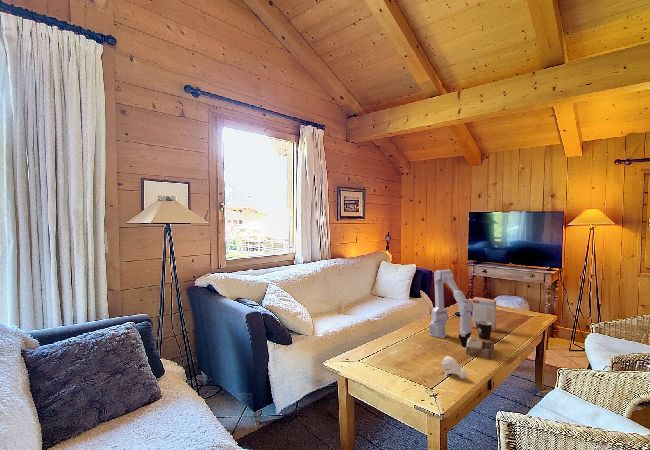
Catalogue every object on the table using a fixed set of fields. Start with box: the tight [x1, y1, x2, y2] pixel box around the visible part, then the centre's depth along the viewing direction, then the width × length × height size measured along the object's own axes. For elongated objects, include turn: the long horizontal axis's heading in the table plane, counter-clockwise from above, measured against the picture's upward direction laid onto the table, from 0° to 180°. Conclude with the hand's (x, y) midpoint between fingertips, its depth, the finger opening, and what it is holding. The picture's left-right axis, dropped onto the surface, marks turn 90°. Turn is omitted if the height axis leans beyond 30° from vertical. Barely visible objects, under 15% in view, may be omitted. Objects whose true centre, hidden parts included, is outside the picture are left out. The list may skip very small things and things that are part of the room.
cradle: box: [465, 340, 495, 360], centre depth 193 cm, size 13×15×5 cm
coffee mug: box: [476, 321, 492, 341], centre depth 216 cm, size 12×9×10 cm
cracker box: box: [471, 296, 497, 333], centre depth 231 cm, size 14×6×21 cm, turn 49°
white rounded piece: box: [441, 355, 468, 380], centre depth 166 cm, size 6×8×12 cm
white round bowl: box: [464, 336, 483, 351], centre depth 195 cm, size 9×9×6 cm
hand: (465, 344), depth 198 cm, fingers open, 7 cm apart
